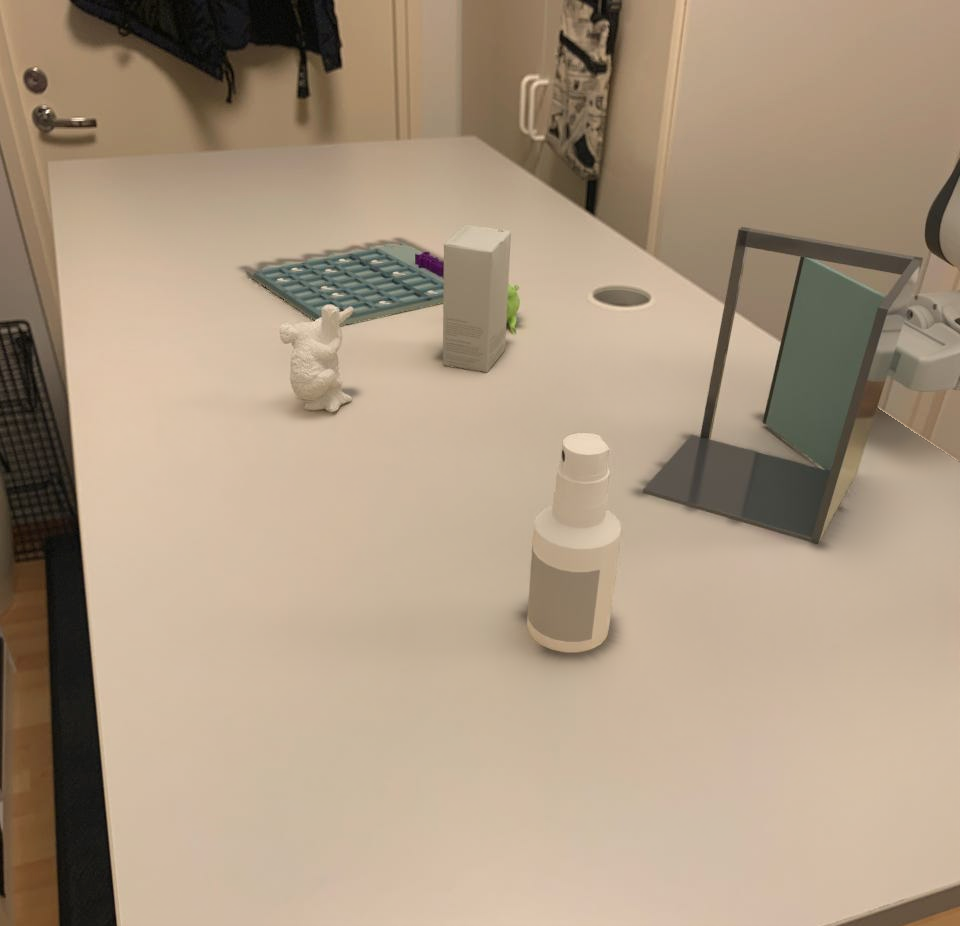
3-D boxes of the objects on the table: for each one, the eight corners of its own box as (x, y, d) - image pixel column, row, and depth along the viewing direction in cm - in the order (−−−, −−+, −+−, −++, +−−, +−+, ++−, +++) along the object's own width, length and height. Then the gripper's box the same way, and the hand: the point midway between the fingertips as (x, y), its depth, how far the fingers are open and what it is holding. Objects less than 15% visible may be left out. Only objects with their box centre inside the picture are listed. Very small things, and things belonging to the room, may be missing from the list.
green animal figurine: (472, 330, 132) (473, 288, 128) (479, 316, 136) (480, 276, 132) (516, 334, 131) (518, 292, 127) (521, 320, 135) (523, 279, 132)
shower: (853, 484, 100) (923, 257, 86) (815, 553, 90) (888, 309, 75) (693, 441, 107) (732, 225, 92) (640, 501, 97) (675, 268, 82)
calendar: (245, 275, 148) (243, 260, 146) (398, 245, 161) (398, 230, 159) (327, 330, 131) (325, 314, 130) (491, 292, 144) (491, 276, 142)
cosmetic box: (463, 343, 128) (464, 223, 118) (509, 350, 126) (514, 229, 117) (440, 366, 122) (440, 241, 112) (489, 374, 120) (492, 248, 110)
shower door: (879, 468, 102) (937, 292, 90) (834, 477, 101) (886, 299, 89) (804, 415, 112) (847, 250, 100) (762, 422, 110) (800, 255, 98)
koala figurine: (360, 393, 115) (353, 294, 108) (360, 417, 110) (353, 316, 103) (290, 394, 115) (279, 295, 107) (287, 419, 109) (275, 317, 102)
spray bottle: (518, 615, 82) (529, 425, 70) (594, 608, 83) (617, 419, 71) (536, 666, 76) (551, 469, 65) (617, 658, 77) (646, 462, 66)
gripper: (877, 276, 113) (778, 285, 110) (1000, 339, 98) (890, 352, 95) (862, 327, 117) (766, 338, 114) (978, 396, 102) (872, 411, 99)
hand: (823, 345), depth 104 cm, fingers closed on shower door, 2 cm apart
